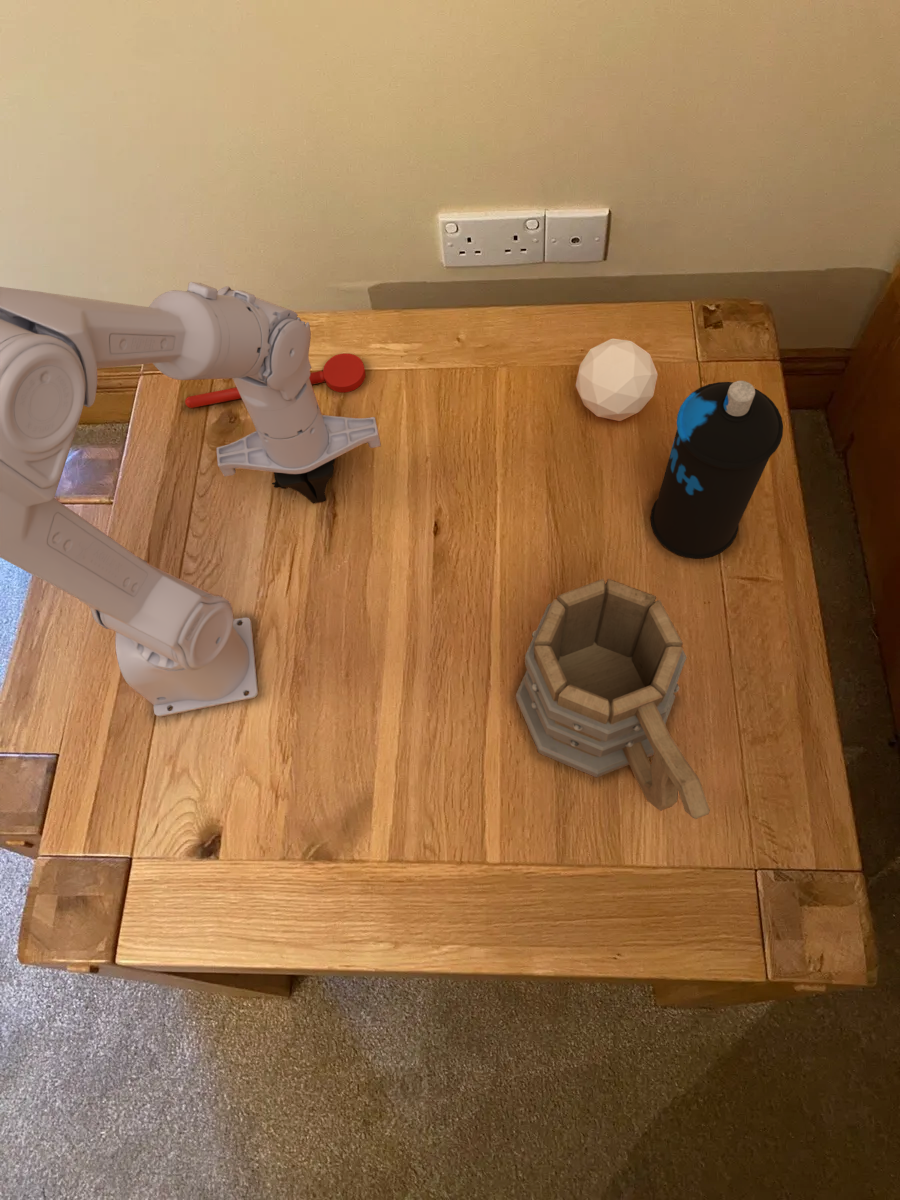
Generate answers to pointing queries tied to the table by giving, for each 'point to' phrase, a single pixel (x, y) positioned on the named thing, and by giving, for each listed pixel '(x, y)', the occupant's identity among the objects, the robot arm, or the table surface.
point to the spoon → (337, 373)
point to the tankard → (609, 690)
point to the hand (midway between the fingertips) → (318, 493)
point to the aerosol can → (714, 467)
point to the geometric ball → (616, 379)
